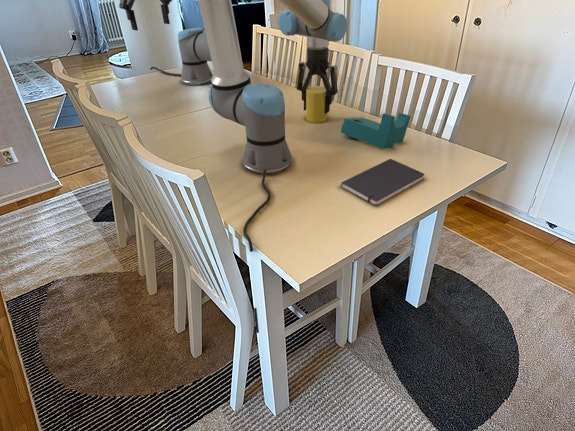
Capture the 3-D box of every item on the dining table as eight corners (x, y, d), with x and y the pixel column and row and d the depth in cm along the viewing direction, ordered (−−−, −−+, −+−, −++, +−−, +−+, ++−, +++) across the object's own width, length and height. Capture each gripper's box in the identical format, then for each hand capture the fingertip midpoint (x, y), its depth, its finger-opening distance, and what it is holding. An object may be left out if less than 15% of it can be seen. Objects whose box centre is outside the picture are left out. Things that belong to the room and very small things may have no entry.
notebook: (389, 163, 124) (340, 187, 113) (390, 158, 123) (341, 182, 112) (424, 178, 116) (375, 206, 105) (425, 174, 115) (376, 201, 104)
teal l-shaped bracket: (401, 146, 136) (410, 115, 131) (383, 149, 129) (392, 116, 124) (359, 131, 147) (366, 102, 142) (340, 132, 139) (347, 102, 135)
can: (310, 113, 158) (310, 85, 152) (329, 116, 156) (330, 87, 149) (303, 121, 153) (303, 91, 146) (323, 123, 150) (323, 94, 144)
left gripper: (109, -38, 128) (126, 34, 140) (174, -43, 143) (185, 22, 155) (97, -39, 132) (115, 31, 145) (162, -44, 147) (173, 20, 159)
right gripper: (350, 47, 138) (346, 111, 151) (295, 42, 146) (296, 103, 159) (342, 52, 133) (339, 118, 146) (286, 46, 140) (287, 110, 154)
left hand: (151, 26), depth 150 cm, fingers open, 13 cm apart
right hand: (316, 110), depth 152 cm, fingers closed on can, 8 cm apart
